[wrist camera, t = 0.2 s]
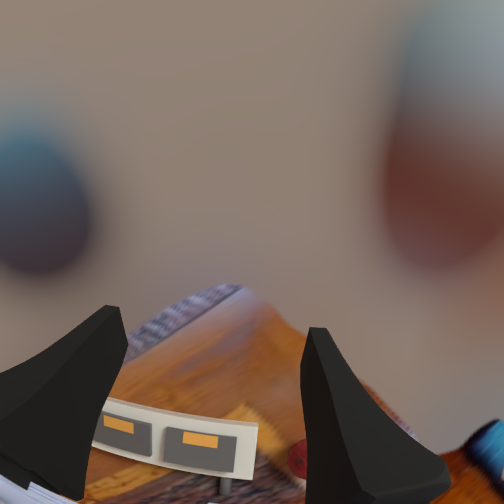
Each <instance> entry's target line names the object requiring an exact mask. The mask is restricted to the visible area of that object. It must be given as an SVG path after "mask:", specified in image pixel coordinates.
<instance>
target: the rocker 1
mask: <svg viewBox="0 0 504 504" xmlns="http://www.w3.org/2000/svg"><path fill="white" fill-rule="evenodd" d="M93 440H94V441H97V442H100V443H103V444H106V445H109V446H112V447H115V448H119V449H122V450H126V451H129V452H133V453H137V454H140V455H144V456H148V457H151V456H152V424H151V423H147V422H143V421H138V420H134V419H130V418H126V417H123V416H119V415H115V414H112V413H108V412H105V411H101V414H100V416H99V419H98V423H97V426H96V430H95V433H94V437H93Z"/></svg>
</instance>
